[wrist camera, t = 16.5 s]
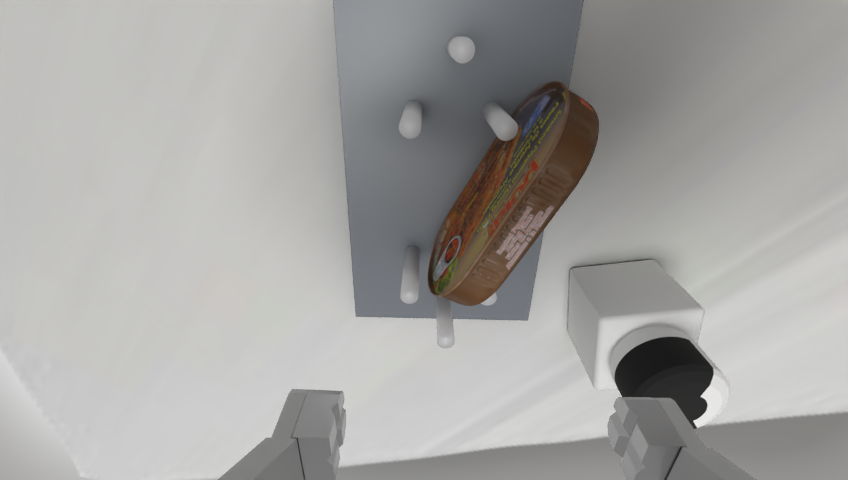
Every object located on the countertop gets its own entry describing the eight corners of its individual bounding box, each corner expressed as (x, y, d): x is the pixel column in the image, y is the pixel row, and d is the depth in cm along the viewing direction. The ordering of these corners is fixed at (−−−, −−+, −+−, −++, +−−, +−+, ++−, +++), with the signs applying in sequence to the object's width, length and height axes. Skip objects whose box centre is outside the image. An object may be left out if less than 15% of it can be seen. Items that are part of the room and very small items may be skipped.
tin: (536, 72, 26) (581, 87, 18) (575, 97, 26) (634, 121, 19) (423, 251, 32) (422, 318, 24) (457, 267, 32) (466, 337, 25)
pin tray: (575, 1, 25) (628, -11, 18) (524, 309, 36) (545, 372, 29) (337, -4, 25) (304, -19, 18) (358, 306, 36) (342, 367, 29)
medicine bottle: (566, 331, 37) (621, 451, 27) (568, 266, 34) (632, 372, 23) (645, 324, 37) (733, 442, 26) (654, 257, 33) (760, 361, 23)
